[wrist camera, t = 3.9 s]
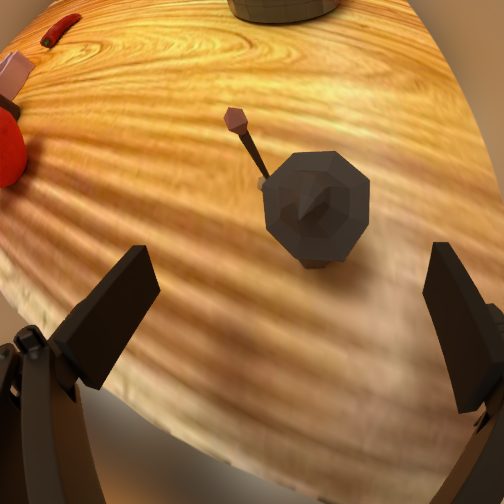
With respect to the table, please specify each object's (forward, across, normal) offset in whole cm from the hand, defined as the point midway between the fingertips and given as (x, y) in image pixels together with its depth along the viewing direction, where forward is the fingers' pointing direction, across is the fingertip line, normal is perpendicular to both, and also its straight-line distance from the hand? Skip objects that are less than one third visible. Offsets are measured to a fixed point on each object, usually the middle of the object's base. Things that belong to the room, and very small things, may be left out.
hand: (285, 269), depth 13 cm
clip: (+35, -64, +21) cm, 76 cm away
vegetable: (+47, -52, +33) cm, 77 cm away
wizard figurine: (+10, 0, -4) cm, 11 cm away
